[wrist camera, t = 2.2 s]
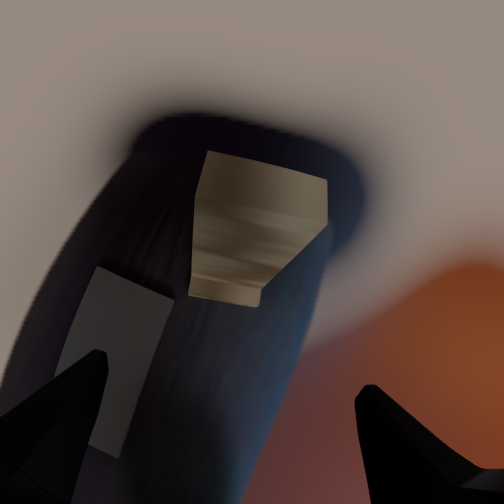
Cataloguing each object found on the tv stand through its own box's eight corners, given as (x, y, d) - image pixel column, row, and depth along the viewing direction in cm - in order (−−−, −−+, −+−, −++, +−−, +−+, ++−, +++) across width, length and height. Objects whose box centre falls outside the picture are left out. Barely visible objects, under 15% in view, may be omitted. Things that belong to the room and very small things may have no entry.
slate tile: (175, 303, 22) (174, 300, 21) (121, 454, 16) (118, 458, 15) (101, 270, 21) (97, 265, 20) (49, 414, 16) (43, 416, 15)
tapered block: (262, 251, 25) (326, 159, 13) (255, 307, 23) (327, 252, 11) (199, 239, 24) (214, 131, 12) (188, 295, 22) (187, 223, 10)
